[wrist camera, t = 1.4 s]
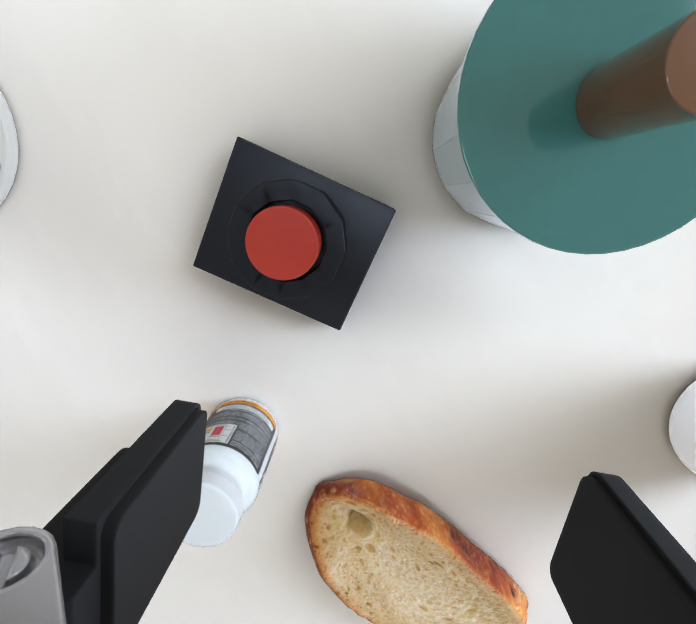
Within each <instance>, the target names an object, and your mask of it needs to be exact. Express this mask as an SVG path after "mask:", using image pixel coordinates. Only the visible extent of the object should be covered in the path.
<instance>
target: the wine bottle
mask: <svg viewBox="0 0 696 624" xmlns="http://www.w3.org/2000/svg"><path fill="white" fill-rule="evenodd" d="M669 436H670V441H671V444H672V446H673V448H674V451H675V453H676V454H677V455H678V457H679V458H680V460H681V461H682V463H683V464H684V465H685V466H686V467H688V468H689V469H690V470H691V471H692V472H693V473H694V474H696V381H694V382H693V383H692V384H691V385H690V386H688V387H687V389H686V390H685V391H684V392H683V393H682V394H681V395H680V397H679V398H678V400H677V401H676V403H675V405H674V407H673V410H672V412H671V416H670V420H669Z"/></svg>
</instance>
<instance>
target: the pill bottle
mask: <svg viewBox="0 0 696 624" xmlns="http://www.w3.org/2000/svg"><path fill="white" fill-rule="evenodd" d="M277 438H278V426H277V422H276V420H275V417H274V416H273V415H272V413H271V412H270V411H269V410H268V409H267V408H266V407H265V406H264V405H263V404H261V403H259V402H257V401H255V400H252V399H246V398H235V399H231V400H228V401H226V402H224V403H222V404H221V405H219V406H218V407H217V408H216V409H215V410H214V411H213V413H212V414H211V415H210V417H209V418H208V420H207V423H206V436H205V449H204V461H203V474H202V487H201V500H200V506H199V510H198V513H197V515H196V517H195V519H194V521H193V523H192V525H191V527H190V529H189V530H188V532H187V534H186V536H185V538H184V540H183V541H182V542H184V543H186V544H189V545H192V546H197V547H211V546H216V545H219V544H221V543H223V542H225V541H226V540H228V539H229V538H230V537H231V536H232V535H233V533H234V532H235V530H236V528H237V525H238V523H239V521H240V519H241V516H242V514H243V513H244V512H245V511H246V510H248V509H249V507H250V506H251V505H252V504H253V502H254V501H255V499H256V497H257V495H258V492H259V489H260V486H261V483H262V481H263V478H264V475H265V472H266V470H267V467H268V464H269V462H270V459H271V456H272V454H273V451H274V448H275V446H276V442H277Z"/></svg>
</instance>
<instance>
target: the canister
mask: <svg viewBox="0 0 696 624" xmlns="http://www.w3.org/2000/svg"><path fill="white" fill-rule="evenodd" d="M461 68H462V65H461V67H460V68H459V69H458V71H457V72H456V74H455V75H454V77H453V78H452V80H451V82H450V84H449V86H448V88H447V91H446V93H445V94H444V96H443V98H442V101H441V103H440V106H439V108H438V110H437V112H436V115H435V123H434V131H433V155H434V160H435V164H436V168H437V171H438V174H439V176H440V179H441V181H442V183H443V185H444V187H445V188H446V190H447V191H448V193H449V194H450V195H451V197H452V198H453V199H454V200H455V201H456V202H457V203H458V204H459V205H460V206H461V207H462V208H463V209H464V210H465V211H466V212H468V213H470V214H472V215H474V216H476V217H478V218H480V219H482V220H485V221H487V222H489V223H491V224H493V225H496V226H500V227H504V228H508V227H506V226H505V225H504V224H503V223H501V222H500V221H499V220H498V219H497V218H496V217H495V216H494V215H493V214H492V213H491V212H490V211H489V210H488V209H487V208H486V206H485V205H484V203H483V202H482V201H481V199H480V198H479V197H478V195H477V194H476V192H475V190H474V188H473V186H472V185H471V183H470V181H469V179H468V177H467V174H466V171H465V169H464V166H463V163H462V161H461V157H460V152H459V148H458V144H457V137H456V126H455V101H456V94H457V87H458V80H459V76H460V72H461ZM508 229H509V228H508Z"/></svg>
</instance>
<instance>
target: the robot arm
mask: <svg viewBox="0 0 696 624" xmlns="http://www.w3.org/2000/svg"><path fill="white" fill-rule="evenodd" d="M18 152H19V149H18V140H17V131H16V128H15V124H14V121H13V117H12V114H11V111H10V109H9V107H8V105H7V102H6V100H5V98H4V96H3V94H2V92H1V91H0V204H1V203H2V202H3V201H4V199H5V198H6V197H7V195H8V193H9V191H10V189H11V187H12V185H13V183H14V179H15V175H16V171H17V167H18ZM206 423H207V412H206V411H203V410H201V407H200V404H198V403H192V402H186V401H181V400H175V401H174V402H173V403H172V404H171V405H170V406H169V407H168V408H167V409H166V410H165V411H164V412H163V413H162V414H161V415H160V416H159V417H158V419H157V420H156V421H155V422H154V423H153V424H152V425H151V426H150V427H149V428H148V429H147V430H146V431H145V432H144V433H143V434H142V435H141V436H140V437H139V438H138V439H137V441H136V442H135V443H134V444H133V445H132V446H131V447H130V448H123V449H121V450H120V451H119V452H118V453H117V454H116V455H115V456H114V457H113V458H112V459H111V460H110V461H109V462H108V463H107V464H106V465H105V466H104V467H103V468H102V469H101V470H100V471H99V472H98V473H97V474H96V475H95V476H94V477H93V478H92V479H91V480H90V481H89V482H88V483H87V484H86V485H85V486H84V487H83V488H82V489H81V490H80V491H79V492H78V493H77V494H76V495H75V496H74V497H73V498H72V499H71V500H70V501H69V502H68V503H67V504H66V505H65V506H64V507H63V508H62V510H61V511H60V512H59V513H58V514H57V515H56V516H55V517H54V518H53V519H52V520H51V521H50V522H49V523H48V524H47V525H46V526H45V527H44V528H43V529H41V528H37V527H15V528H10V529H5V530H1V531H0V624H138V622H139V621H140V619H141V617H142V615H143V613H144V611H145V609H146V608H147V606H148V604H149V602H150V600H151V598H152V597H153V595H154V593H155V591H156V589H157V587H158V586H159V584H160V582H161V580H162V578H163V576H164V575H165V573H166V571H167V569H168V567H169V565H170V564H171V562H172V560H173V558H174V556H175V554H176V553H177V551H178V549H179V547H180V545H181V543H182V541H183V540H184V538H185V536H186V534H187V532H188V530H189V529H190V527H191V525H192V523H193V521H194V519H195V517H196V515H197V513H198V510H199V506H200V500H201V487H202V474H203V461H204V449H205V436H206ZM550 574H551V578H552V581H553V583H554V585H555V587H556V589H557V591H558V593H559V596H560V598H561V600H562V602H563V604H564V606H565V608H566V611H567V613H568V615H569V617H570V619H571V621H572V623H573V624H696V562H695V561H694V560H693V559H692V557H691V556H690V555H689V554H688V553H687V552H686V551H685V549H684V548H683V547H682V546H681V545H680V544H679V543H678V542H677V540H676V539H675V538H674V537H673V536H672V535H671V534H670V532H669V531H668V530H667V529H666V528H665V527H664V526H663V525H662V523H661V522H660V521H659V520H658V519H657V518H656V517H655V515H654V514H653V513H652V512H651V511H650V510H649V509H648V508H647V506H646V505H645V504H644V503H643V502H642V501H641V500H640V498H639V497H638V496H637V495H636V494H635V493H634V492H633V490H632V489H631V488H630V487H629V486H628V485H627V484H626V483H625V481H624V480H623V479H622V478H621V477H619V476H616V475H611V474H605V473H599V472H591V473H590V474H589V475H588V476H585V477H583V478H582V479H581V481H580V483H579V486H578V489H577V491H576V494H575V497H574V500H573V502H572V505H571V508H570V511H569V513H568V516H567V519H566V522H565V524H564V527H563V530H562V533H561V535H560V538H559V541H558V543H557V546H556V549H555V552H554V554H553V557H552V560H551V563H550Z"/></svg>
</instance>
